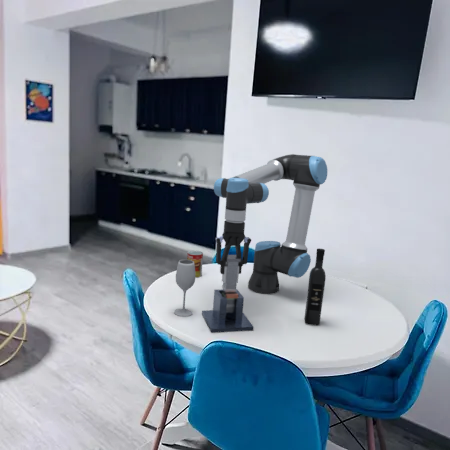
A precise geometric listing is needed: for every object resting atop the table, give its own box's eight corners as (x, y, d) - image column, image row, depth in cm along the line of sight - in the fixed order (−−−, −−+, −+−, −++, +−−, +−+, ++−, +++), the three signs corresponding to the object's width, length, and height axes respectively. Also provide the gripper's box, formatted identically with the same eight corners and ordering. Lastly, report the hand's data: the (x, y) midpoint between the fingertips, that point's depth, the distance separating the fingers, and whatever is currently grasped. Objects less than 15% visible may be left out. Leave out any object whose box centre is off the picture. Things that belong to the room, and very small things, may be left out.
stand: (240, 312, 164) (242, 282, 161) (253, 330, 149) (256, 298, 146) (201, 314, 159) (203, 283, 157) (211, 332, 144) (213, 299, 142)
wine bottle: (319, 326, 156) (329, 252, 151) (304, 324, 157) (314, 250, 151) (318, 320, 162) (327, 248, 156) (303, 318, 163) (312, 246, 157)
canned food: (185, 272, 208) (186, 250, 206) (200, 272, 210) (201, 250, 208) (187, 277, 200) (188, 254, 198) (202, 277, 202) (204, 254, 200)
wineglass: (196, 311, 162) (199, 260, 158) (188, 318, 155) (191, 266, 151) (178, 307, 164) (181, 257, 160) (170, 314, 157) (173, 262, 153)
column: (232, 307, 156) (236, 254, 152) (236, 313, 151) (240, 258, 147) (219, 307, 155) (223, 254, 151) (222, 313, 150) (227, 258, 146)
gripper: (253, 219, 152) (248, 278, 157) (209, 218, 147) (205, 279, 152) (260, 223, 145) (254, 284, 150) (214, 222, 140) (210, 286, 145)
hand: (229, 281), depth 151 cm, fingers closed on column, 4 cm apart
